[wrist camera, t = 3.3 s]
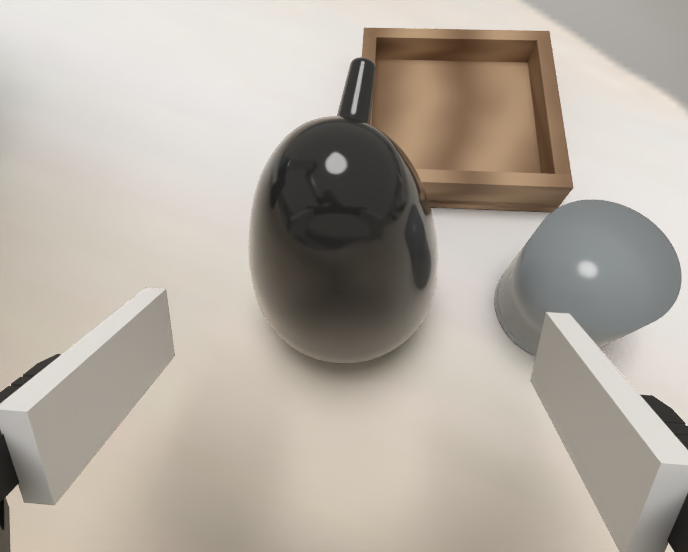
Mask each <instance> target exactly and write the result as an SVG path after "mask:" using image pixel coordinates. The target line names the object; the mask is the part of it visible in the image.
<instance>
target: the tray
mask: <svg viewBox="0 0 688 552" xmlns="http://www.w3.org/2000/svg"><path fill="white" fill-rule="evenodd" d="M362 57H363V58H367V59H369V60H371V61H372V62H373V63H374V64H375V66H376V74H375V83H374V92H373V101H372V110H371V120H370V124H371V125H372V126H374V127H376V128H378V129H379V130H381V131H382V132H384V133H385V134H387V135H388V136H389V137H390V138H392V139H393V140H394V141H395V142H396V143H397V144H398V145H399V146H400V147H401V149H402V150H403V151H404V152H405V154H406V155H407V156H408V158H409V159H410V161H411V163H412V164H413V166H414V168H415V170H416V171H417V173H418V175H419V177H420V180H421V182H422V184H423V187H424V189H425V192H426V195H427V198H428V202H429V205H430V207H441V208H465V209H489V210H514V211H538V212H553V211H554V210H556V209H557V208H558V207H559V205H560V204H561V203H562V201H563V200H564V199H565V198H566V196H567V195H568V194H569V192H570V191H571V190H572V189H573V183H572V176H571V170H570V163H569V157H568V150H567V143H566V137H565V130H564V124H563V117H562V111H561V104H560V98H559V91H558V85H557V78H556V72H555V65H554V59H553V52H552V46H551V39H550V33H549V31H515V30H460V29H405V28H364V35H363V49H362Z"/></svg>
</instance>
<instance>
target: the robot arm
mask: <svg viewBox="0 0 688 552" xmlns="http://www.w3.org/2000/svg"><path fill="white" fill-rule="evenodd" d="M174 356H175V353H174V345H173V338H172V330H171V323H170V315H169V307H168V300H167V292H166V289H161V288H144V289H143V290H141V291H140V292H139V293H138V294H136V295H135V296H134V297H133V298H131V299H130V300H129V301H128V302H126V303H125V304H124V305H123V306H121V307H120V308H119V309H118V310H116V311H115V312H114V313H113V314H111V315H110V316H109V317H108V318H106V319H105V320H104V321H103V322H101V323H100V324H99V325H98V326H96V327H95V328H94V329H93V330H91V331H90V332H89V333H88V334H86V335H85V336H84V337H83V338H81V339H80V340H79V341H78V342H76V343H75V344H74V345H73V346H71V347H70V348H69V349H68V350H66V351H65V352H64V353H63V354H56V355H54V356H52V357H50V358H48V359H46V360H44V361H42V362H40V363H38V364H36V365H35V366H34V367H32V368H31V369H30V370H29V371H27V372H26V373H25V374H23V377H20V378H18V379H17V380H16V381H14V382H13V383H12V384H11V386H8V387H7V388H5V389H4V390H3V391H1V392H0V552H10V522H9V506H8V503H7V500H6V496H7V495H8V494H9V493H10V492H11V491H12V490H13V489H14V488H15V487H16V485H17V484H18V485H19V488H20V491H21V494H22V497H23V500H24V502H25V503H36V504H47V505H55V504H56V503H57V502H58V500H59V499H60V498H61V497H62V495H63V494H64V493H65V492H66V491H67V489H68V488H69V487H70V486H71V484H72V483H73V482H74V481H75V479H76V478H77V477H78V476H79V474H80V473H81V472H82V471H83V469H84V468H85V467H86V466H87V464H88V463H89V462H90V461H91V459H92V458H93V457H94V456H95V454H96V453H97V452H98V451H99V449H100V448H101V447H102V446H103V444H104V443H105V442H106V441H107V440H108V438H109V437H110V436H111V435H112V433H113V432H114V431H115V430H116V428H117V427H118V426H119V425H120V423H121V422H122V421H123V420H124V418H125V417H126V416H127V415H128V413H129V412H130V411H131V410H132V408H133V407H134V406H135V405H136V403H137V402H138V401H139V400H140V398H141V397H142V396H143V395H144V393H145V392H146V391H147V390H148V388H149V387H150V386H151V385H152V384H153V382H154V381H155V380H156V379H157V377H158V376H159V375H160V374H161V372H162V371H163V370H164V369H165V367H166V366H167V365H168V364H169V362H170V361H171V360H172V359H173V357H174ZM531 383H532V385H533V387H534V388H535V390H536V392H537V394H538V396H539V398H540V400H541V402H542V404H543V406H544V408H545V410H546V411H547V413H548V415H549V417H550V419H551V421H552V423H553V425H554V427H555V429H556V431H557V432H558V434H559V436H560V438H561V440H562V442H563V444H564V446H565V448H566V450H567V452H568V454H569V455H570V457H571V459H572V461H573V463H574V465H575V467H576V469H577V471H578V473H579V475H580V477H581V478H582V480H583V482H584V484H585V486H586V488H587V490H588V492H589V494H590V496H591V498H592V499H593V501H594V503H595V505H596V507H597V509H598V511H599V513H600V515H601V517H602V519H603V521H604V522H605V524H606V526H607V528H608V530H609V532H610V534H611V536H612V538H613V540H614V542H615V543H616V545H617V547H618V549H619V551H620V552H665V549H666V547H667V545H668V543H669V544H670V545H671V547H672V549H673V550H674V552H688V426H685V422H684V421H683V420H682V419H681V418H680V417H679V416H678V415H677V414H676V413H675V412H674V410H673V409H672V408H670V407H669V406H667V405H666V404H664V403H663V402H661V401H660V400H658V399H657V398H655V397H654V396H650V395H640V394H639V393H638V392H637V391H636V390H635V389H634V387H633V386H632V385H631V384H630V383H629V382H628V381H627V379H626V378H625V377H624V376H623V375H622V374H621V372H620V371H619V370H618V369H617V368H616V367H615V366H614V364H613V363H612V362H611V361H610V360H609V359H608V357H607V356H606V355H605V354H604V353H603V352H602V350H601V349H600V348H599V347H598V346H597V345H596V344H595V342H594V341H593V340H592V339H591V338H590V337H589V335H588V334H587V333H586V332H585V331H584V330H583V329H582V327H581V326H580V325H579V324H578V323H577V322H576V320H575V319H574V318H573V317H572V316H571V315H570V314H569V313H553V312H546V314H545V319H544V323H543V328H542V332H541V336H540V341H539V345H538V350H537V354H536V359H535V363H534V368H533V372H532V377H531Z"/></svg>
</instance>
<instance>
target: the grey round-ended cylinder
mask: <svg viewBox="0 0 688 552" xmlns="http://www.w3.org/2000/svg"><path fill="white" fill-rule="evenodd" d="M680 287H681V268H680V263H679V260H678V257H677V254H676V252H675V250H674V248H673V246H672V244H671V243H670V241H669V240H668V238H667V237H666V236H665V234H664V233H663V232H662V231H661V230H660V229H659V228H658V227H657V226H656V225H655V224H654V223H653V222H651V221H650V220H649V219H648V218H646V217H645V216H643V215H642V214H640V213H638V212H636V211H635V210H633V209H631V208H628V207H626V206H623V205H620V204H617V203H614V202H609V201H604V200H581V201H576V202H572V203H568V204H566V205H563V206H561V207H559V208H558V209H556V210H554V211H553V212H552V213H550V214H549V215H548V216H547V217H546V218H545V219H544V220H543V222H542V223H541V224H540V226H539V227H538V228H537V230H536V231H535V232H534V234H533V235H532V236H531V238H530V239H529V240H528V242H527V243H526V245H525V246H524V247H523V249H522V250H521V251H520V253H519V254H518V255H517V257H516V258H515V259H514V261H513V262H512V263H511V265H510V266H509V267H508V269H507V270H506V271H505V273H504V274H503V276H502V277H501V279H500V280H499V282H498V285H497V288H496V291H495V311H496V315H497V318H498V320H499V323H500V325H501V327H502V328H503V330H504V331H505V333H506V334H507V335H508V337H509V338H510V339H511V340H512V341H513V342H514V343H515V344H516V345H518V346H519V347H520V348H521V349H523V350H524V351H526V352H528V353H530V354H532V355H534V356H536V354H537V350H538V345H539V341H540V336H541V332H542V328H543V323H544V319H545V314H546V312H553V313H569V314H570V315H571V316H572V317H573V318H574V319H575V320H576V322H577V323H578V324H579V325H580V326H581V327H582V329H583V330H584V331H585V332H586V333H587V334H588V335H589V337H590V338H591V339H592V340H593V341H594V342H595V344H596V345H597V346H598V347H599V348H601V347H603V346H605V345H607V344H609V343H611V342H613V341H615V340H617V339H620V338H622V337H624V336H626V335H628V334H630V333H632V332H634V331H636V330H638V329H640V328H642V327H644V326H646V325H648V324H650V323H652V322H654V321H656V320H657V319H659V318H661V317H662V316H663V315H664V314H666V313H667V312H668V311H669V310H670V308H671V307H672V306H673V304H674V303H675V301H676V299H677V297H678V294H679V291H680Z"/></svg>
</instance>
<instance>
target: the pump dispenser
mask: <svg viewBox="0 0 688 552" xmlns="http://www.w3.org/2000/svg"><path fill="white" fill-rule="evenodd" d="M375 74H376V66H375V64H374V63H373V62H372V61H371V60H369V59H367V58H363V57H360V58H356V59H354V60H353V61H352V62H351V64H350V68H349V71H348V75H347V79H346V83H345V87H344V91H343V94H342V98H341V102H340V106H339V110H338V114H337V116H331V117H323V118H318V119H315V120H312V121H309V122H306V123H304V124H302V125H301V126H299V127H297V128H296V129H294V130H293V131H292V132H291V133H290V134H288V135H287V136H286V137H285V138H284V139H283V140H282V142H281V143H280V144H279V145H278V146H277V148H276V149H275V150H274V152H273V153H272V155H271V156H270V158H269V160H268V161H267V163H266V165H265V167H264V169H263V171H262V174H261V176H260V179H259V181H258V185H257V188H256V191H255V195H254V199H253V204H252V210H251V218H250V229H249V263H250V271H251V277H252V282H253V287H254V291H255V295H256V298H257V301H258V304H259V306H260V309H261V311H262V313H263V315H264V316H265V318H266V320H267V321H268V323H269V325H270V326H271V327H272V329H273V330H274V331H275V332H276V334H277V335H278V336H279V337H280V338H281V339H282V340H283V341H285V342H286V343H287V344H288V345H290V346H291V347H292V348H294V349H295V350H297V351H299V352H301V353H302V354H305V355H307V356H309V357H312V358H314V359H318V360H321V361H326V362H332V363H358V362H364V361H368V360H372V359H375V358H378V357H380V356H383V355H385V354H387V353H389V352H391V351H392V350H394V349H396V348H397V347H399V346H400V345H401V344H403V343H404V342H405V341H406V340H407V339H408V338H409V337H410V336H411V335H412V334H413V333H414V332H415V331H416V330H417V328H418V327H419V326H420V324H421V323H422V321H423V320H424V318H425V316H426V314H427V312H428V310H429V307H430V305H431V302H432V299H433V296H434V292H435V287H436V280H437V260H438V257H437V240H436V232H435V227H434V222H433V217H432V213H431V209H430V205H429V202H428V198H427V195H426V192H425V189H424V187H423V184H422V182H421V180H420V177H419V175H418V173H417V171H416V170H415V168H414V166H413V164H412V163H411V161H410V159H409V158H408V156H407V155H406V154H405V152H404V151H403V150H402V149H401V147H400V146H399V145H398V144H397V143H396V142H395V141H394V140H393V139H392V138H390V137H389V136H388V135H387V134H385V133H384V132H382V131H381V130H379V129H378V128H376V127H374V126H372V125H371V124H370V120H371V110H372V101H373V92H374V83H375Z"/></svg>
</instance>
